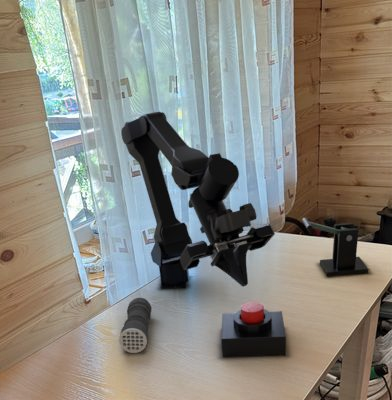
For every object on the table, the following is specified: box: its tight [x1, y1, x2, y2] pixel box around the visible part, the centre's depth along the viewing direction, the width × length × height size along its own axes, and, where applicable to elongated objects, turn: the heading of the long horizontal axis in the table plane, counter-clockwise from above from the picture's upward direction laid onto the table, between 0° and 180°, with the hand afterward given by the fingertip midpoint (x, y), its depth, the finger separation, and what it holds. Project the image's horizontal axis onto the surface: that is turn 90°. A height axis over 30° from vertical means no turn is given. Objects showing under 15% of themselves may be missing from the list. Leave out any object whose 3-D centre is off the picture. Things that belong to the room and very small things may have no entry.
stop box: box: [220, 308, 287, 358], centre depth 101 cm, size 12×10×6 cm
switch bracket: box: [319, 222, 369, 278], centre depth 126 cm, size 10×8×11 cm
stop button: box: [240, 301, 265, 323], centre depth 99 cm, size 4×4×2 cm
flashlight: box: [118, 297, 152, 354], centre depth 108 cm, size 15×5×5 cm, turn 0°
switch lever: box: [301, 217, 349, 235], centre depth 123 cm, size 12×6×2 cm, turn 92°
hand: (245, 285), depth 98 cm, fingers closed
